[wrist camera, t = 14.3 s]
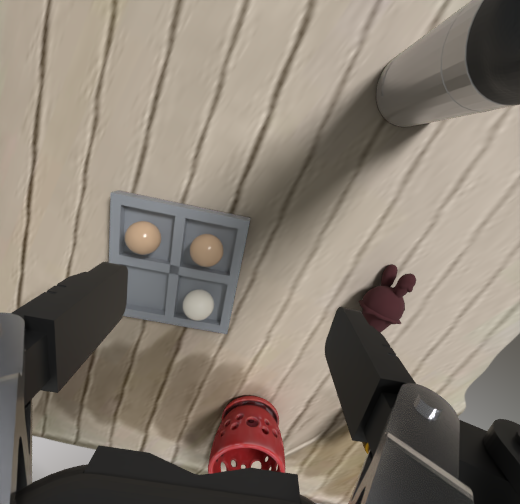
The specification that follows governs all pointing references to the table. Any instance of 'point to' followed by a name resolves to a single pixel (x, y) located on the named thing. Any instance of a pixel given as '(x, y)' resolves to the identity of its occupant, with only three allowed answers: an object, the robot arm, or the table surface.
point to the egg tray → (176, 259)
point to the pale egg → (198, 304)
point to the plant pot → (248, 436)
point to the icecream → (387, 299)
